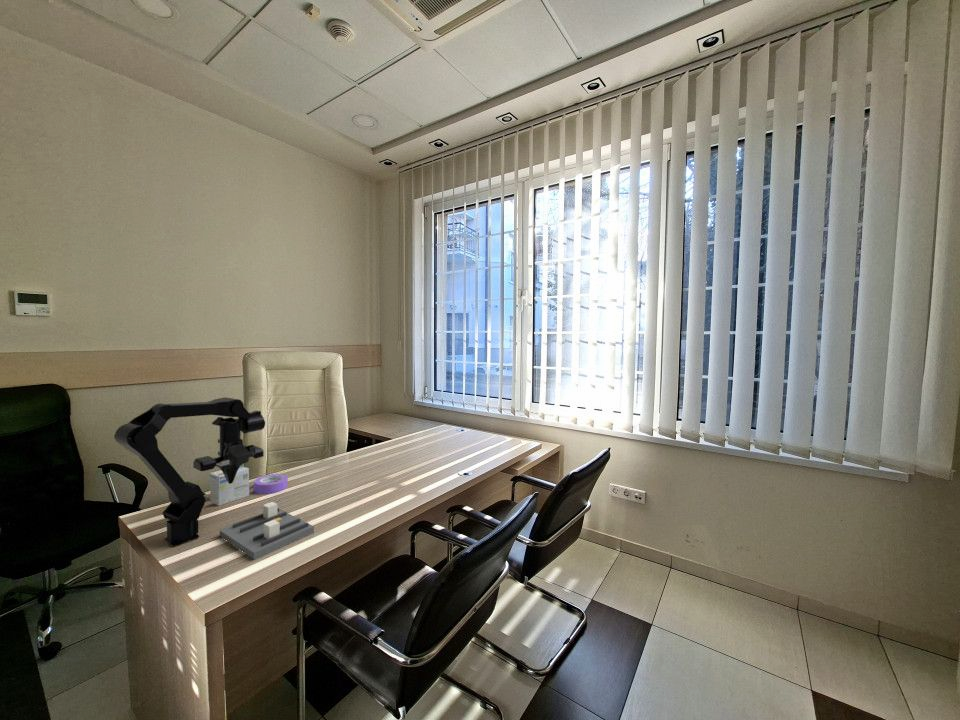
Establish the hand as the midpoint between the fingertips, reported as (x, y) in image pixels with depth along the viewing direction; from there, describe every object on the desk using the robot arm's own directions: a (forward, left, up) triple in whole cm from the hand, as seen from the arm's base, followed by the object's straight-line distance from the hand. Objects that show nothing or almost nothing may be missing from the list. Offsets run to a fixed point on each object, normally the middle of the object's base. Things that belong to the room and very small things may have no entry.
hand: (230, 483), depth 125 cm
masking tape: (+21, +14, -12) cm, 28 cm away
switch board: (+2, -19, -12) cm, 22 cm away
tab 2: (0, -25, -10) cm, 27 cm away
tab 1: (+6, -13, -10) cm, 17 cm away
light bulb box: (+7, +16, -12) cm, 21 cm away
